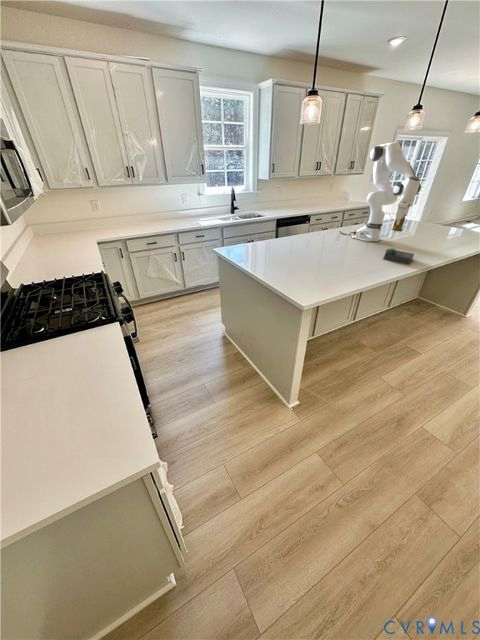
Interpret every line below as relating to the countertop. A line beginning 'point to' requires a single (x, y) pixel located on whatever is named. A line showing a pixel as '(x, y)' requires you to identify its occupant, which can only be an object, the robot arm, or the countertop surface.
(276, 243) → the countertop surface
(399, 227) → the condiment
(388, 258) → the control panel
